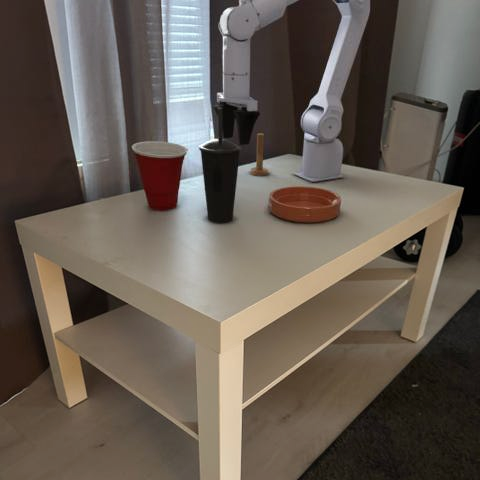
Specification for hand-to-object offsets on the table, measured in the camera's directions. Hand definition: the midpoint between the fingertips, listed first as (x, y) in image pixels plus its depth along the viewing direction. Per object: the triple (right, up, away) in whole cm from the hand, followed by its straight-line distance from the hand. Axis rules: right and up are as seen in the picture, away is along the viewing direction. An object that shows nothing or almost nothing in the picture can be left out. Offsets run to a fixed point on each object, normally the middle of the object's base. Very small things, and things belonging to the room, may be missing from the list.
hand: (235, 141), depth 109 cm
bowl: (+14, -19, -11) cm, 26 cm away
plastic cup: (-15, -17, -9) cm, 25 cm away
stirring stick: (+6, -3, +13) cm, 15 cm away
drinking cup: (-3, -21, -15) cm, 26 cm away
